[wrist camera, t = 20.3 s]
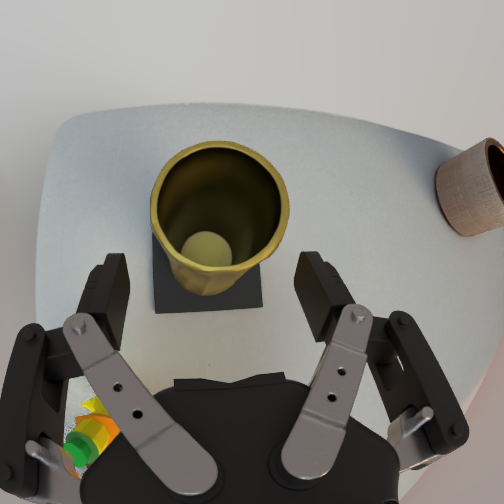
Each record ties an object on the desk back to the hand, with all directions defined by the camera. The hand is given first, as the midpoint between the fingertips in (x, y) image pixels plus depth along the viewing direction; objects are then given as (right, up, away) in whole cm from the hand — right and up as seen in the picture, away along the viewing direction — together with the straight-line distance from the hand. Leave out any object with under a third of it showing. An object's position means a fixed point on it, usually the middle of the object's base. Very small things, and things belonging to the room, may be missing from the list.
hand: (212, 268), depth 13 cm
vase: (-2, 0, +11) cm, 11 cm away
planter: (+30, +8, +20) cm, 37 cm away
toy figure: (-9, -12, +8) cm, 17 cm away
